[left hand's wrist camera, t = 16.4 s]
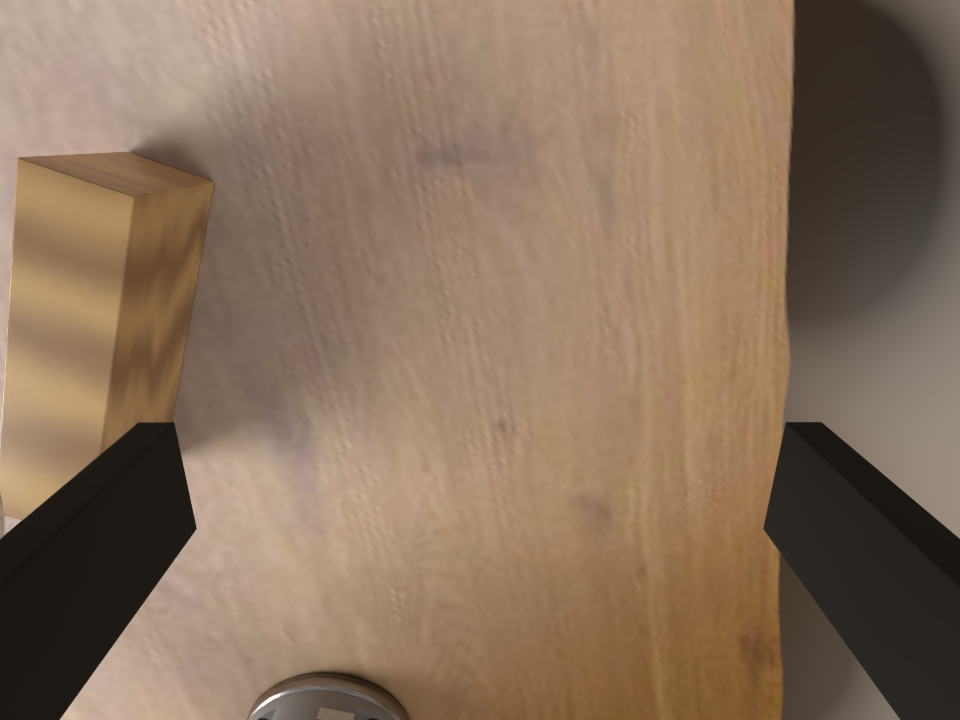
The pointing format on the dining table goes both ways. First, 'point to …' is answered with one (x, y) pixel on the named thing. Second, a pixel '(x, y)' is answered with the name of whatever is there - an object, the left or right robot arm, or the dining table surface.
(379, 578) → the dining table surface
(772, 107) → the dining table surface
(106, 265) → the bar
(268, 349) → the dining table surface
